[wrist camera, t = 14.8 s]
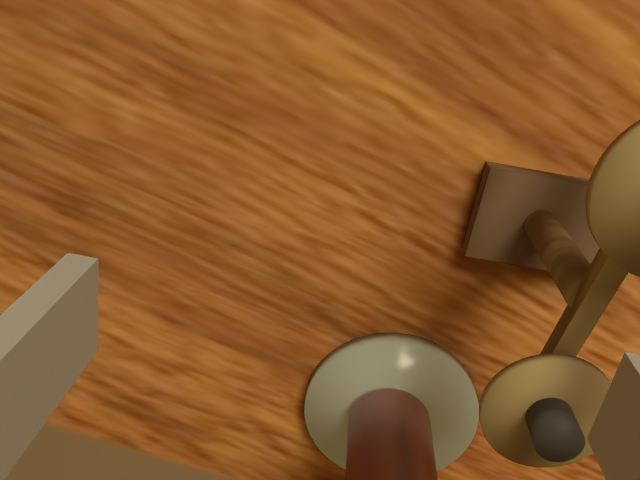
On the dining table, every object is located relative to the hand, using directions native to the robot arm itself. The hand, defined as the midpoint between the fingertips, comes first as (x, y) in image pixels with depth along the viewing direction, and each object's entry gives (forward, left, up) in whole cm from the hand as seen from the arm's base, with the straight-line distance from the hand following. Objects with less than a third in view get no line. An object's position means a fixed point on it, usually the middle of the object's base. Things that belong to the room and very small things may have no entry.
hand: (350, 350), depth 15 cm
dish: (+6, -21, -25) cm, 33 cm away
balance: (+12, -4, -25) cm, 28 cm away
